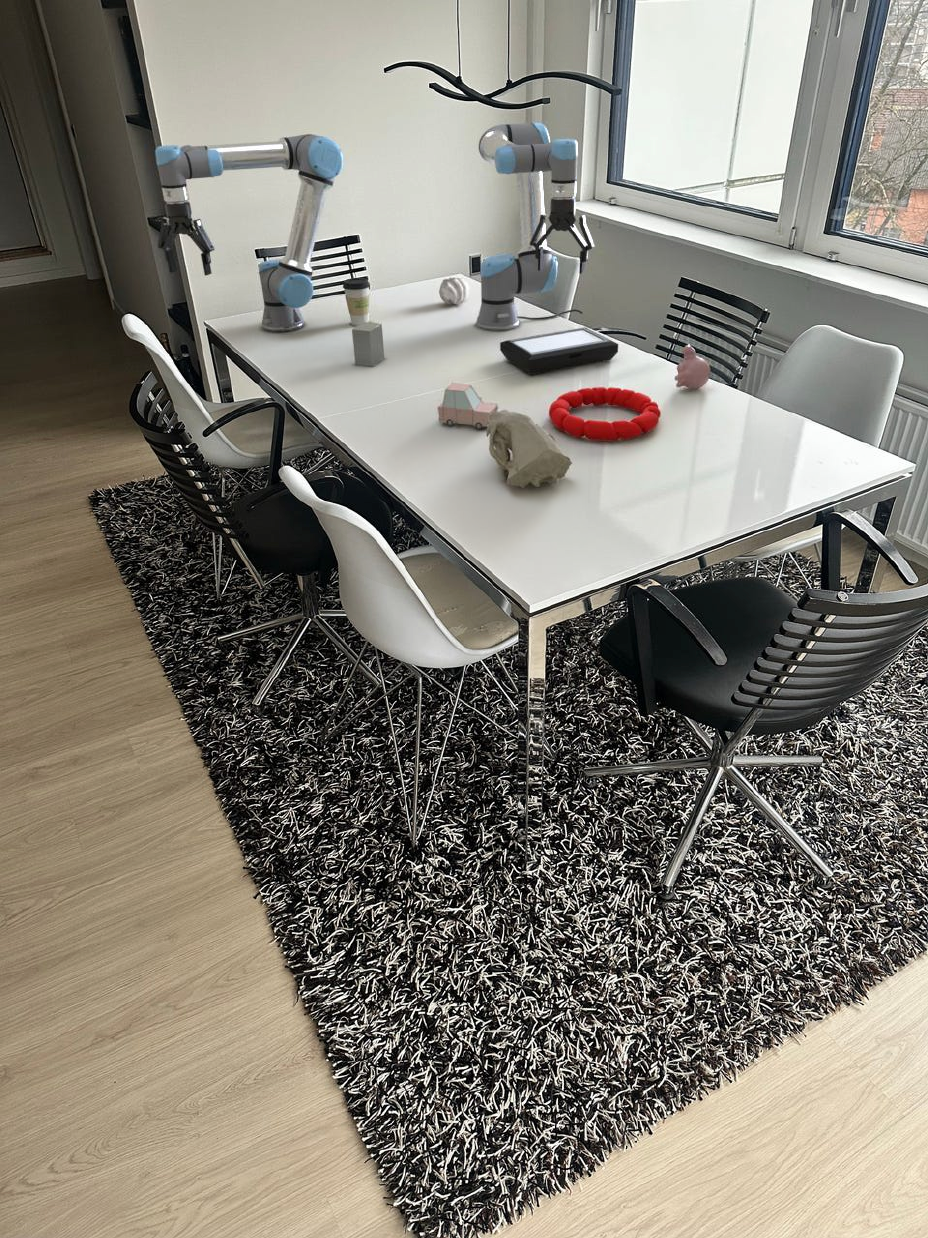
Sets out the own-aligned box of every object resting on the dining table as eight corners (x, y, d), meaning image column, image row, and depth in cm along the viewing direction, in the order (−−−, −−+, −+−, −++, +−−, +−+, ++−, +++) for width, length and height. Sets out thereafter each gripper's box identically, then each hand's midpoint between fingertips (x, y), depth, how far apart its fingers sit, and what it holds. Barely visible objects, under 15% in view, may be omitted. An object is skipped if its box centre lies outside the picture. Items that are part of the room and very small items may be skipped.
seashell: (432, 303, 345) (431, 277, 340) (465, 297, 351) (465, 271, 345) (444, 310, 338) (443, 282, 332) (478, 303, 343) (478, 276, 338)
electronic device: (528, 357, 271) (500, 339, 286) (528, 377, 274) (500, 358, 289) (618, 341, 281) (586, 325, 296) (617, 360, 284) (585, 343, 300)
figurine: (665, 387, 264) (669, 347, 257) (693, 380, 268) (698, 340, 261) (686, 396, 257) (690, 355, 250) (714, 388, 262) (720, 348, 255)
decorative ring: (589, 435, 224) (684, 402, 234) (527, 398, 247) (617, 369, 256) (589, 461, 229) (683, 427, 238) (529, 422, 251) (617, 393, 260)
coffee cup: (372, 326, 323) (368, 283, 314) (345, 327, 323) (340, 284, 315) (374, 318, 331) (371, 276, 322) (348, 319, 331) (344, 277, 323)
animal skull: (496, 517, 219) (521, 479, 201) (463, 429, 225) (484, 384, 207) (557, 503, 225) (586, 465, 206) (523, 417, 231) (549, 373, 212)
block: (355, 364, 289) (351, 329, 283) (367, 356, 295) (364, 321, 289) (372, 366, 287) (369, 330, 280) (384, 358, 293) (381, 323, 287)
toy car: (488, 432, 240) (488, 396, 234) (436, 426, 244) (434, 390, 239) (499, 419, 247) (499, 384, 241) (448, 413, 252) (447, 379, 246)
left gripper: (137, 202, 278) (152, 272, 290) (203, 205, 270) (216, 278, 282) (152, 197, 284) (166, 267, 296) (217, 201, 276) (229, 272, 288)
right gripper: (520, 197, 270) (519, 270, 282) (599, 201, 261) (595, 276, 273) (528, 193, 275) (527, 265, 287) (606, 196, 267) (602, 270, 279)
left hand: (190, 272), depth 289 cm, fingers open, 13 cm apart
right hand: (560, 271), depth 280 cm, fingers open, 13 cm apart
